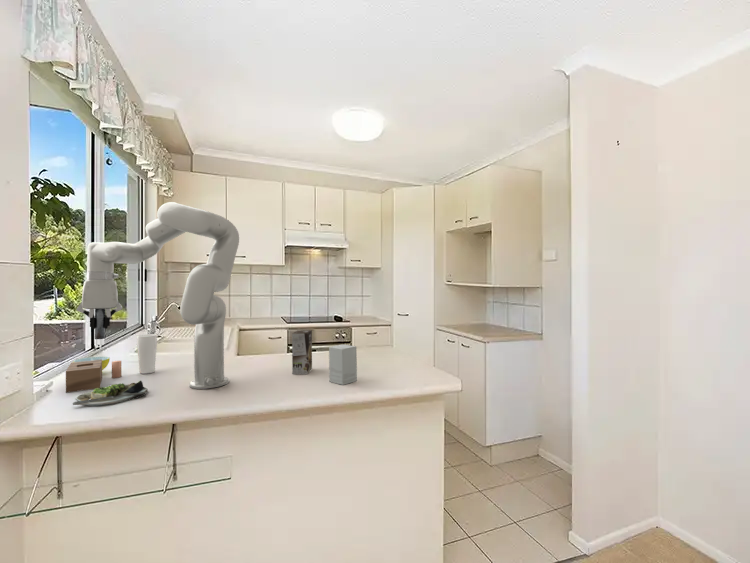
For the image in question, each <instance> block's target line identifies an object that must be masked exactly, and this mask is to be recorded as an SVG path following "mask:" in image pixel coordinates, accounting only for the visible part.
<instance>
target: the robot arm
mask: <svg viewBox="0 0 750 563" xmlns="http://www.w3.org/2000/svg"><path fill="white" fill-rule="evenodd" d="M156 217H157V218H155V219H153V220H152V221H150V222H148V223H147V224H146V226H145V232H146V234H147V236H146V237H144V238H143V239H140V240H139V241H137V242H135V243H128V242H123V241H121V242H120V241H107V242H95V241H93V242H89V243H88V245H87V247H86V248H87V254H86V255H87V257H86V259H87V263H86V268H87V269H86V280H85V281H84V282H83V286H82V293H81V294H82V296H81V302H80V303H79V305H78V306H77V308H76V310H75V311H77V312H79V313H82V314H84V315H85V316H87V317H88V318H89V327H90V328H91V330H95V309H106V310H105V330H107V329H108V328H109V327H110V325H111V317H112V316H113V315H114V314H115V313H117V312H120V311H121V310H123V306H122V304H120V302H119V300H118V299H119V296H118V295H119V294H118V285H117V281H116V280H115V279H119V274H118V273H114V268H115V266H114V264H129V265H137V264H141V263H142V262H145V261H146V260H149V259H150V258H152V257H154V256H156V255H157V254H158V253H159V252H160V251H161V249H163V246H164V245H166V244H167V243H169V242H170V241H172V240H174V239H175V238H177V237H180V236H182V235H184V234H185V233H190V234H194V235H197V236H200V237H205V238H210V239H213V241H214V243H213V245H212V246H211V248H210V250H209V253H208V258H207V261H206V263H203V264H198V265H196V266H195V267H193V268H192V270H190V272H189V274H188V277H187V279H186V282H185V286H184V291H183V294H182V297H181V298H182V299H181V301H180V302H181V303H180V311H179V312H180V316H181V318H182V320H183V321H184V322H185V323H187V324H189V325H195V328H194V337H193V339H194V340H193V342H194V343H193V347H194V348H193V350H194V351H193V352H194V354H193V356H194V357H193V358H194V360H193V361H194V364H193V366H194V379H193V380H191V381H190V382H189V387H190V388H191V389H194V390H195V389H196V390H205V389H206V390H209V389H213V388H219V387H223V386H225V385H226V384H229V382H230V380H229V377H226V376H225V348H224V347H225V321H226V316H227V307H226V303H225V301H224V299H222V297H220V296H218V295H216V294H215V293H220V292H223V291H225V290H226V289H227V288H228V286H229V283H230V280H231V277H232V272H233V268H234V265H235V259H236V255H237V253H238V249H239V245H240V244H239V243H240V234H239V231H238V229H237V227H236V226H235V225H234V223H233V222H231V221H230V220H229V219H227V218H225V217H224V216H222V215H219V214H216V213H213V212H212V211H208V210H204V209H202V208H196V207H193V206H189V205H185V204H181V203H177V202H174V201H168V202H165V203H163V204H162V205H161V206H159V208H158V210H157V212H156ZM111 309H112V310H111Z"/></svg>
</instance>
